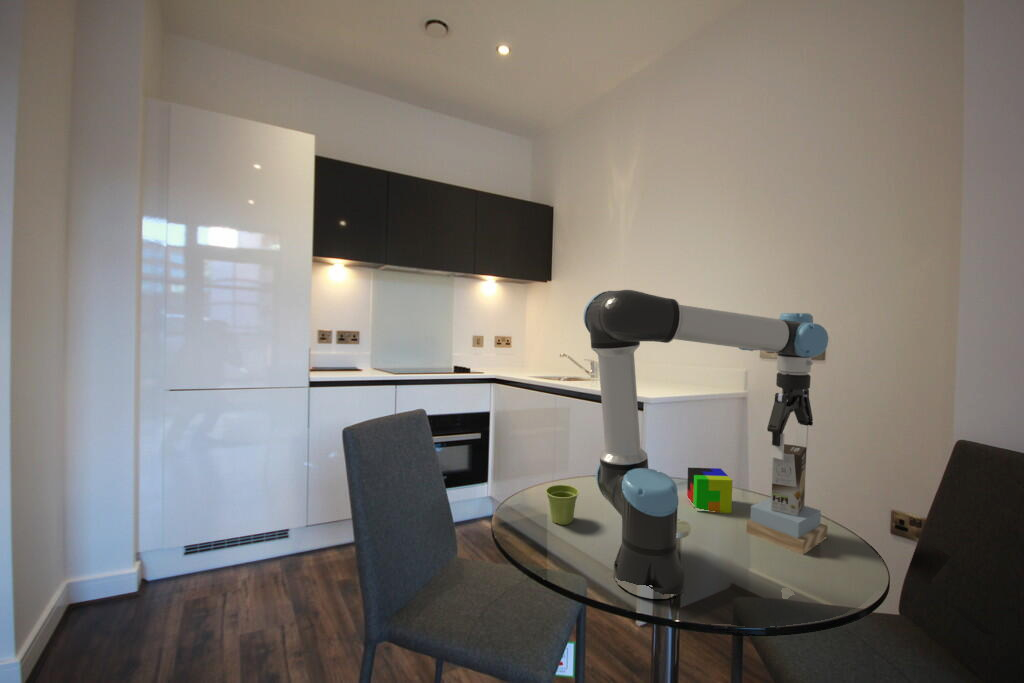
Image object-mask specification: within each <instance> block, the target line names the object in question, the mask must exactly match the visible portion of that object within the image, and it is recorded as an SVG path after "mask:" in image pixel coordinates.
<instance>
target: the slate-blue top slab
mask: <svg viewBox="0 0 1024 683" xmlns="http://www.w3.org/2000/svg"><path fill="white" fill-rule="evenodd" d="M771 497H772V496H770V497H768V498H766V499H764V500H761V501H758V502H757V503H755V504H753V505H751V506H750V518H749V519H750V521H753V522H755V523H758V524H761V525H763V526H766V527H769V528H771V529H774V530H777V531H779V532H782V533H785V534H787V535H790V536H793V537H795V538H800V537H802V536H803V535H805V534H807V533H808V532H810V531H812V530H813V529H815V528H817V527H819V526H820V523H821V516H822V515H821V514H822V512H821V510H820V509H817V508H814V507H810V506H807V505H804V507H803V508H802V510H801V511H800V513H799V515H798V516H793V515H790V514H786V513H781V512H777V511H773V510H771Z"/></svg>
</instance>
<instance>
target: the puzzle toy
mask: <svg viewBox="0 0 1024 683" xmlns="http://www.w3.org/2000/svg"><path fill="white" fill-rule="evenodd" d="M733 481H734V480H733V479H732V478H731V477H729V475H728V474H727V473H726V472H725V471H724V470H723V469H722V468H717V467H715V468H714V467H711V468H710V467H687V491H686V494H687V495H686V497H687V496H688V498H689V499H690V500H691V502H692V503H693V504H694V505H695V507H696V508H699V509H704V510H709V511H715V512H720V514H732V513H733V512H732V509H733V507H732V506H733V504H732V503H733ZM715 512H714V513H715Z"/></svg>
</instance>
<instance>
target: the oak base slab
mask: <svg viewBox="0 0 1024 683" xmlns="http://www.w3.org/2000/svg"><path fill="white" fill-rule="evenodd" d="M750 519H751V518H749V519H747V520H746V533H747V534H749V535H752V536H755V537H756V538H759V539H762V540H763V541H764V540H765V541H767V542H770V543H772V544H774V545H777V546H779V547H782V548H785V549H787V550H790V551H792V552H794V553H797V554H799V555H802V556H804V555H805V554H806V553H807V552H809V551H811V550H813V548H815V547H817V546H818V545H819V544H821V543H822V542H823V541H822V540H823V539H824V538H825V537H827V538H828V525H826V524H825V523H824V524H822V523H821V522H820V526H819V527H817V528H815V529H813V530H812V531H810V532H808V533H807V534H805V535H803V536H802V537H800V538H795V537H793V536H790V535H787V534H785V533H782V532H779V531H777V530H774V529H771V528H769V527H766V526H763V525H761V524H758V523H755V522H753V521H750ZM821 541H822V542H821ZM820 542H821V543H820ZM818 543H819V544H818ZM816 545H817V546H816Z"/></svg>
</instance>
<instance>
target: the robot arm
mask: <svg viewBox="0 0 1024 683" xmlns="http://www.w3.org/2000/svg"><path fill="white" fill-rule="evenodd" d="M583 323H584V326H585V328H586V329H587V331H588V333H589V337H590V348H591V350H592V351H593V352H595V353H596V354H597V358H598V370H599V371H598V372H599V385H600V397H601V398H600V399H601V409H602V412H601V413H602V422H603V423H602V424H603V426H602V427H603V437H604V439H603V440H604V449H603V450H602V451H601V452H600V453H599V464H598V466H597V468H596V472H595V479H596V480H595V481H596V483H597V484H596V485H597V487H598V489H599V492H600V493H601V495H602V496H603V497H604V498H605V500H607V501H608V502H609V503H610V505H611V506H612V507H613V508H614V509H615V511H617V512H618V514H619V515H620V516H621V519H622V520H621V544H620V547H619V549H618V552H617V554H616V557H615V560H614V563H613V574H614V575H613V577H614V576H615V577H616V578H617V579H618V580H620V581H626V582H629V583H633V584H636V585H646V586H649V585H652V586H653V587H650V586H649V587H650V588H651V589H653V590H654V591H655V592H659V593H661V594H663V595H664V594H676V595H677V594H679V593H680V592H681V591H682V590H683V591H684V589H683V588H685V574H684V571H683V568H682V566H681V561H680V558H679V554H678V551H677V550H678V549H677V541H678V540H677V537H678V510H679V509H678V507H679V501H680V500H679V495H678V487H677V486H678V485H677V483H676V482H675V481H674V479H673V478H672V477H670V476H669V475H668V474H666V473H664V472H662V471H657V470H656V469H652V468H649V460H648V459H649V458H648V453H647V452H646V451H645V450H643V448H642V447H641V436H640V434H641V433H640V423H639V421H640V420H639V408H638V407H639V406H638V405H639V404H638V392H637V391H638V390H637V378H636V377H637V376H636V360H635V352H636V351H637V349H638V348H639V347H640V345H641V342H656V343H658V342H659V343H664V344H669V343H671V342H672V341H673V340H677V341H684V342H685V341H686V342H691V343H692V342H694V343H702V344H708V345H716V346H722V347H723V346H725V347H729V348H730V347H732V348H738V349H739V350H741V351H750V352H753V351H762V352H768V353H769V352H770V353H775V354H777V358H776V360H777V362H776V371H778V372H777V373H776V381H775V383H776V384H775V385H776V386H777V387H778V388H781V389H782V391H781V393H780V392H776V393H775V394H774V402H773V406H772V409H771V412H770V417H769V421H768V424H767V428H766V429H767V432H770V433H771V448H770V458H772V459H773V458H777V459H781V460H782V459H783V457H784V444H785V438H786V436H785V433H783V432H784V431H785V428H786V425H787V423H788V421H789V418H790V415H791V413H793V412H794V415H795V418H796V421H797V423H796V424H795V441H794V442H795V443H794V445H795V446H801V447H806V448H807V449H806V451H807V450H808V441H809V426H813V424H814V423H813V412H812V407H811V400H810V390H809V389H810V388H811V375H810V374H809V373H811V372H812V371H811V370H812V365H813V364H814V362H813V361H812V358H814V357H815V358H816V357H818V356H820V355H822V354H823V353H824V352H825V350H826V349H827V347H828V345H829V344H828V343H829V334H828V331H827V329H826V328H825V327H823V326H822V325H821V324H819V323H815V322H814V317H813V315H812V314H811V313H807V312H804V313H803V312H800V313H799V312H782V313H781V314H779V319H778V318H773V317H765V316H758V315H754V314H753V315H752V314H751V315H750V314H744V313H738V312H731V311H725V310H718V309H711V308H705V307H704V308H703V307H697V306H692V305H691V306H690V305H683V304H680V303H679V302H678V301H677V299H674V298H668V297H662V296H659V295H654V294H650V293H645V292H642V291H638V290H635V289H620V290H607V291H602V292H601V293H597V294H596V295H594V296H593V297H592V298H590V300H589V301H587V304H586V305H585V308H584V312H583ZM683 591H682V592H683ZM682 592H681V593H682ZM681 593H680V594H681ZM680 594H679V595H680Z"/></svg>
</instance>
